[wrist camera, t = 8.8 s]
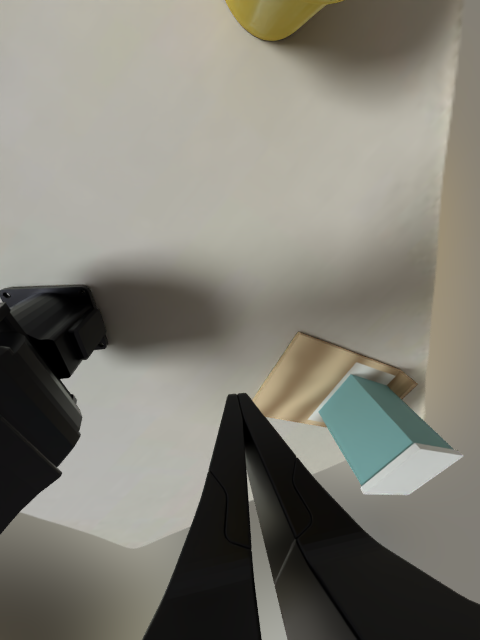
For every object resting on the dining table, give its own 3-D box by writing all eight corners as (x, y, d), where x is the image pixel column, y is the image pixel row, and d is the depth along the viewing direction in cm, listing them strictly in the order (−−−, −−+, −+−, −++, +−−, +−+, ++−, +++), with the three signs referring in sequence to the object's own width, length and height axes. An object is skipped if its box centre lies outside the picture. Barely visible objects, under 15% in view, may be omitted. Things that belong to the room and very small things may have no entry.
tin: (316, 412, 32) (363, 494, 23) (350, 372, 29) (420, 448, 20) (353, 420, 35) (408, 495, 26) (388, 384, 32) (463, 455, 23)
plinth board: (245, 409, 30) (250, 429, 27) (298, 331, 25) (309, 346, 22) (343, 427, 37) (354, 444, 35) (400, 369, 32) (418, 384, 29)
